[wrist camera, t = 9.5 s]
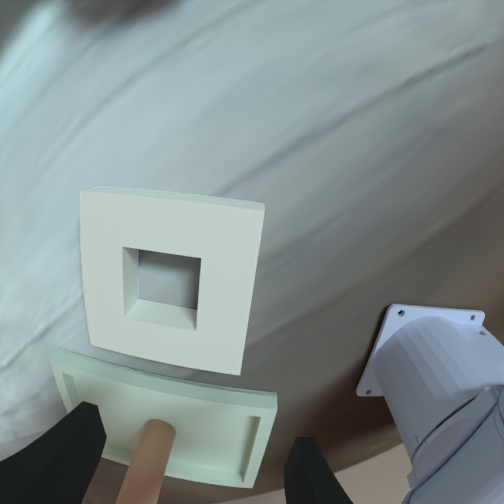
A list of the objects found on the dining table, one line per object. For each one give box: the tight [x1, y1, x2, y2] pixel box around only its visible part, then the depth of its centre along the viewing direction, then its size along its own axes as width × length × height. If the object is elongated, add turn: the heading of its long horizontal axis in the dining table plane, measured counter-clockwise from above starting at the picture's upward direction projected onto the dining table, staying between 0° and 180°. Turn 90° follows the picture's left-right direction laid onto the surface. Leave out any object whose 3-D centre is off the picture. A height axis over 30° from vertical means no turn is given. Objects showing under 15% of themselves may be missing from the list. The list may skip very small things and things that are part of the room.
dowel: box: [116, 419, 176, 504], centre depth 18 cm, size 3×3×9 cm
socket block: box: [80, 186, 265, 375], centre depth 17 cm, size 10×10×2 cm
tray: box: [50, 348, 277, 488], centre depth 22 cm, size 18×13×2 cm
